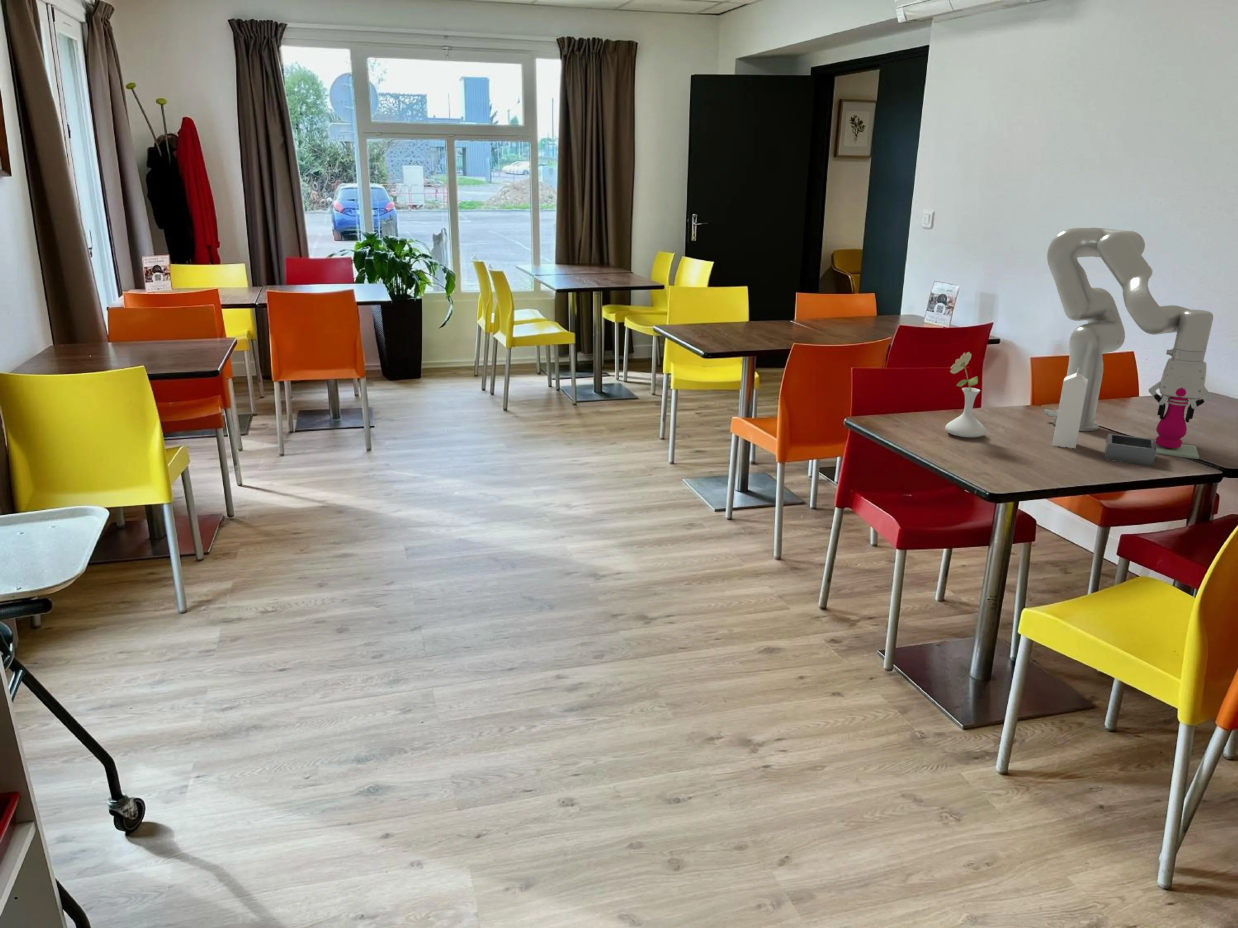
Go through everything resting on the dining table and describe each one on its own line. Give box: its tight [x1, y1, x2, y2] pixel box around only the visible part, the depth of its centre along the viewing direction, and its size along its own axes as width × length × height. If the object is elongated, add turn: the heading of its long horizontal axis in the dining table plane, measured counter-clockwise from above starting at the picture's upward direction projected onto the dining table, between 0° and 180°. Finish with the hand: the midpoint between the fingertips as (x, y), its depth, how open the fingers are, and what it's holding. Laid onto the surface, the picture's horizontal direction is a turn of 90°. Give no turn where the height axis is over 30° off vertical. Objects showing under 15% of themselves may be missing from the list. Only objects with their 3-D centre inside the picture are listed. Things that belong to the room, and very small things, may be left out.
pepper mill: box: [1155, 388, 1190, 448], centre depth 246 cm, size 7×7×20 cm
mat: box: [1155, 440, 1200, 460], centre depth 249 cm, size 14×12×1 cm
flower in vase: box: [944, 351, 987, 438], centre depth 256 cm, size 13×11×25 cm
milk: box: [1052, 368, 1088, 450], centre depth 249 cm, size 6×6×22 cm
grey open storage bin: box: [1104, 433, 1156, 467], centre depth 241 cm, size 11×11×4 cm
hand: (1174, 419), depth 247 cm, fingers open, 5 cm apart
